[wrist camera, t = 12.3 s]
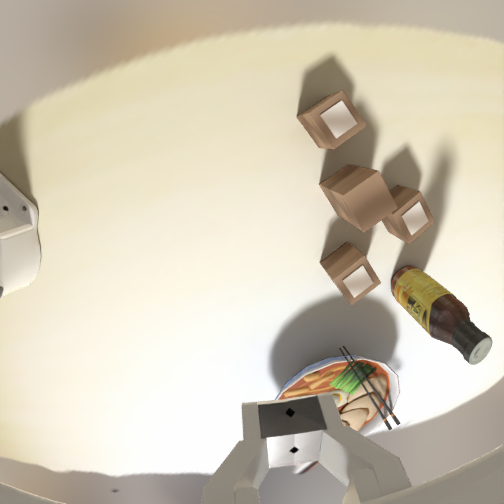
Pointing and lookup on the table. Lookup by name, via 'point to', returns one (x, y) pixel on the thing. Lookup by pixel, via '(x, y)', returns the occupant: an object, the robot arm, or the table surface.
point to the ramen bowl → (350, 389)
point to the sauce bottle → (439, 313)
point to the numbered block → (332, 121)
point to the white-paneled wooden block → (408, 214)
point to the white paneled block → (350, 272)
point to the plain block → (359, 196)
